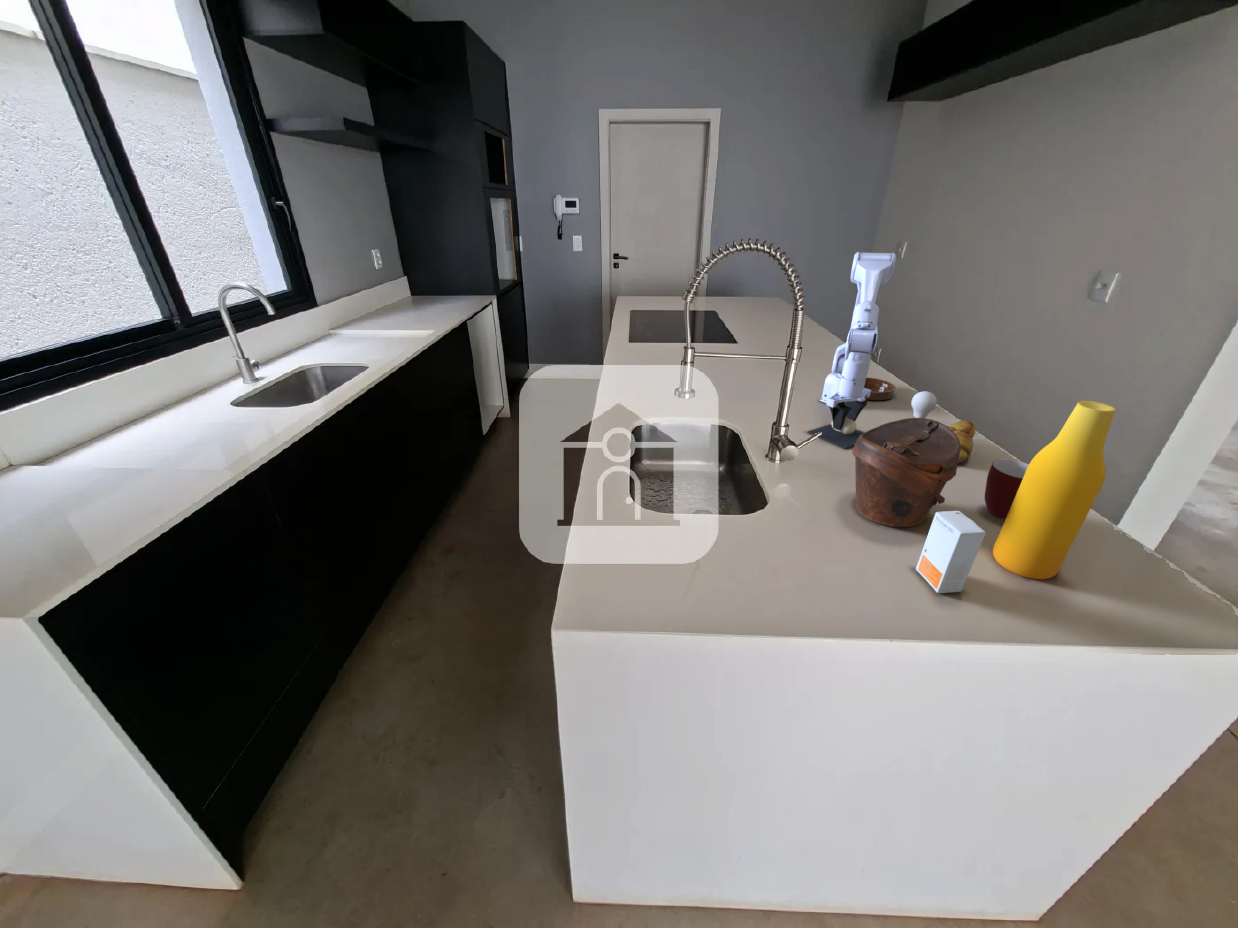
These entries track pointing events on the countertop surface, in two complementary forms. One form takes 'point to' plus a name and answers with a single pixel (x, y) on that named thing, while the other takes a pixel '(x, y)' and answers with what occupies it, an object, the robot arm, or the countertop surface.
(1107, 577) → the countertop surface
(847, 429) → the white grooved oval
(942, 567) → the cosmetic box
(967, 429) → the bread roll
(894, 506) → the case
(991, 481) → the mug
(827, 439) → the mat
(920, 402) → the light bulb
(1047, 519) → the beer bottle
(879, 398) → the bowl
